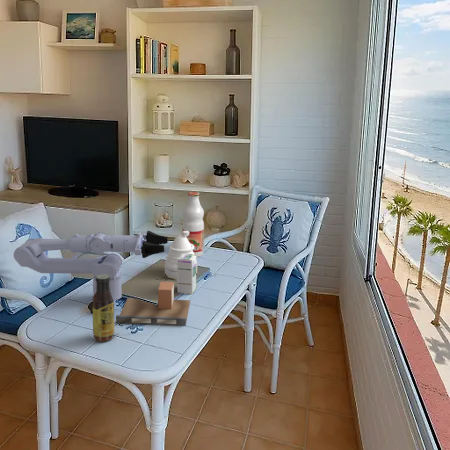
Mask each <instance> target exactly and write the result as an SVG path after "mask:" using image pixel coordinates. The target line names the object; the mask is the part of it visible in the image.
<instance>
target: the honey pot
mask: <svg viewBox="0 0 450 450" xmlns="http://www.w3.org/2000/svg"><path fill="white" fill-rule="evenodd" d="M188 235H189V231H183V230H182V234H181V233H180V234H177V236H176V237H175V238H174V240H173V241H172V243H171V244H169V246H168V249H169V250H168V253H167V256H166V259H165V261H164V274H165V273H166V274H167V275H169V276H172V277H177V259H178V258H179V257H180V256H181V254H193V255H195V254H194V252H193V249H194V245H193V244H191V243H189V241H188V239H187V238H186V237H187V236H188ZM196 273H197V274H198V261H197V260H196Z"/></svg>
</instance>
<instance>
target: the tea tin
mask: <svg viewBox="0 0 450 450" xmlns="http://www.w3.org/2000/svg"><path fill="white" fill-rule="evenodd" d="M174 285H175V283H174V281H160V284H159V286H158V291H157V292H158V293H157V294H158V297H157V299H158V309H172V305H173V302H174V300H175V298H174V296H175V295H174V294H175V293H174V291H175V286H174Z"/></svg>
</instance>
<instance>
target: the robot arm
mask: <svg viewBox="0 0 450 450" xmlns="http://www.w3.org/2000/svg"><path fill="white" fill-rule="evenodd" d="M168 243H169V241H168V237H167V236H165V235H160V234H157V233H154V232H153V231H151V230H147V231H146V233H142V232H140V231H139V232H138V233H137V235H125V234H123V235H119V234H118V235H117V234H116V235H115V234H113V235H108V234H106V233H104V232H96V233H95V234H93V233H89V234H87V235H86V234H85V235H80V234H79V233H75V234H74V235H71V236H70V237H69V238H68V239H66V238H64V239H63V238H41V237H37V238H29V239H27V240H25V242H23V244H21V245H20V246H18V247H17V248H15V250H14V251H13V259H14V260H15V261H16V262H17V264H18V265H19V266H20V267H21V268H22V267H23V268H24V267H26V268H29V269H31V270H33V271H35V272H38V273H40V274H92V275H93V280H92V291H93V292H92V293H93V294H92V295H93V296H94V295H95V293H96V291H97V290H96V288H97V286H96V285H97V282H96V276H97V275H100V274H107V275H109V276H110V281H109V287H110V292H111V295H112V298H113V300H114V301H117V300H119V299H121V298H122V296H123V293H122V290H123V289H122V272H121V270H120V268H121V266H122V265H123V260H122V258H121V256H120V255H119V254H117V253H134V256H142V257H141V258H142V259H146V258H148V257H149V256H152V255H153V256H154V255H157V254H162V253H165V245H166V244H168ZM59 250H60V251H61V250H69V251H70V252H71V253H91V252H93V253H95V254H96V255H100V256H97V257H93V258H92V257H88V258H87V257H86V258H85V257H82V258H79V257H49V256H48V255H47V253H46V252H47V251H59ZM105 252H106V253H107V252H108V254H106V255H103V254H104V253H105ZM109 252H110V253H109ZM111 252H112V253H111ZM93 296H92V297H93Z"/></svg>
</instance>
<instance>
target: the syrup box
mask: <svg viewBox="0 0 450 450" xmlns="http://www.w3.org/2000/svg"><path fill="white" fill-rule="evenodd" d="M196 261H197V257H196V255H193V254H181V256H180V257H179V258H178V259H177V280H176V281H177V284H176V285H177V293H178V292H181V293H180V294H182V295H183V294H185V295H190V296H191V295H194V293H195V292H196V290H197V276H196Z"/></svg>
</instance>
